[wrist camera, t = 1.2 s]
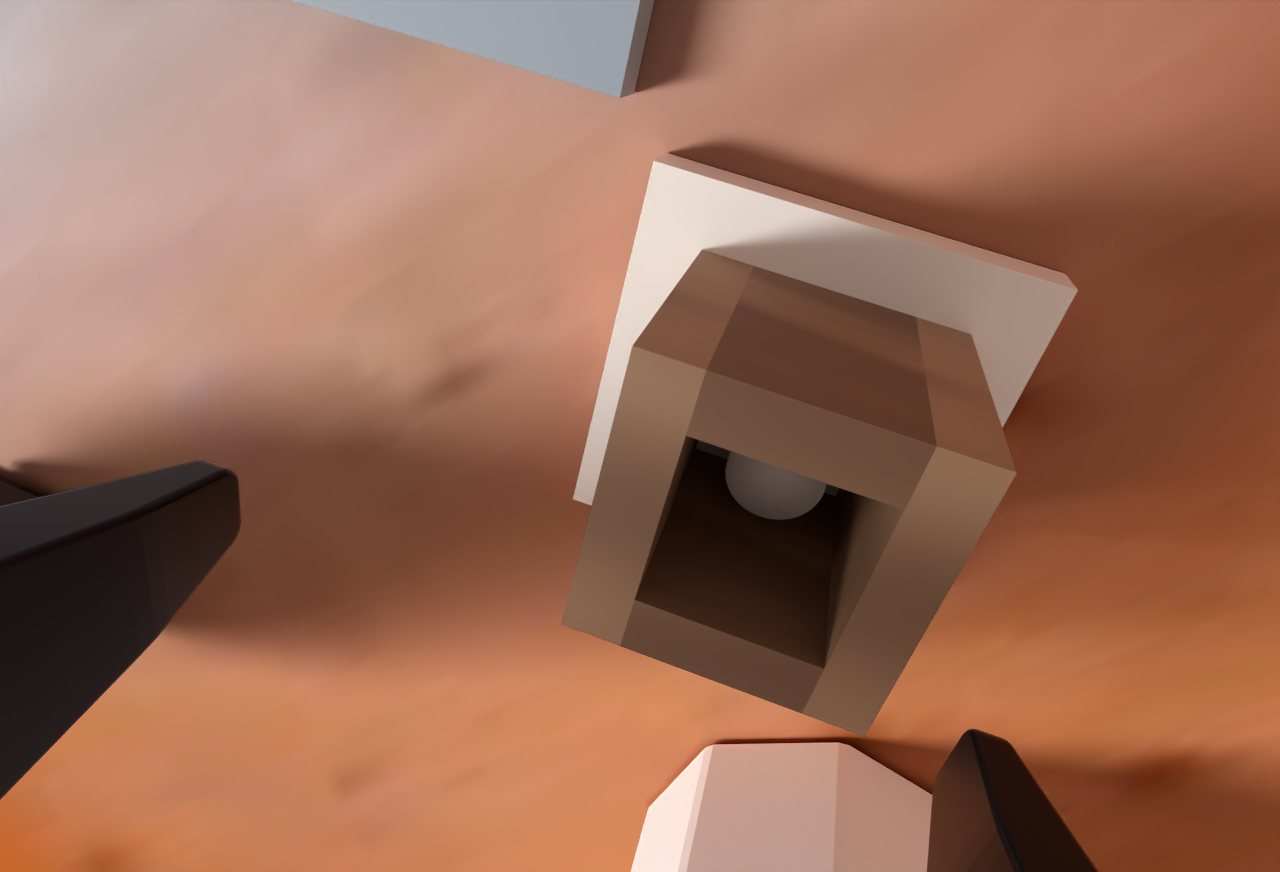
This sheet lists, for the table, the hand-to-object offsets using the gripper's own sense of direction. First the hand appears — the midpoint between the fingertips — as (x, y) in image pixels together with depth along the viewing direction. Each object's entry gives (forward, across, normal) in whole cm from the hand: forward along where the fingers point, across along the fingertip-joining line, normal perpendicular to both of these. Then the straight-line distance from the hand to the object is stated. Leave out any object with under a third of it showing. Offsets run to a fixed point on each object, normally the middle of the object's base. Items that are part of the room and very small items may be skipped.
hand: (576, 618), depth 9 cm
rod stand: (+12, -2, +2) cm, 12 cm away
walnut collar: (+10, -2, +2) cm, 11 cm away
